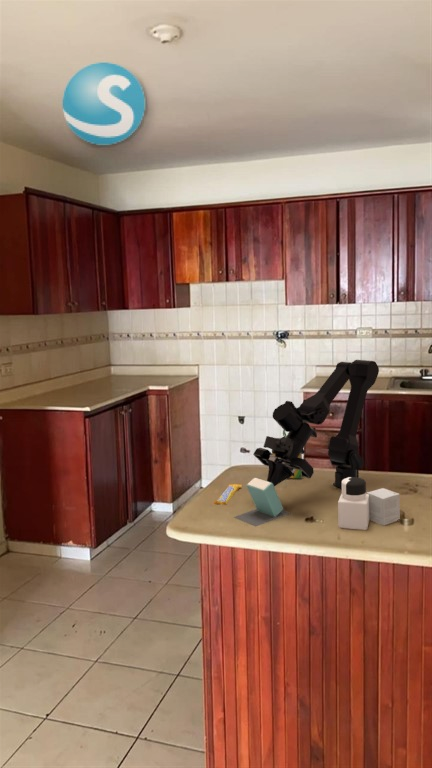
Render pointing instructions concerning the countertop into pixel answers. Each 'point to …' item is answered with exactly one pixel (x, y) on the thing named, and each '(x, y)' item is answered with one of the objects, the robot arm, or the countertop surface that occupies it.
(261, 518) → the mat
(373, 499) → the product box
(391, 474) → the countertop surface
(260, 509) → the teal box cream top
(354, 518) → the medicine bottle
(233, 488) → the candy bar
